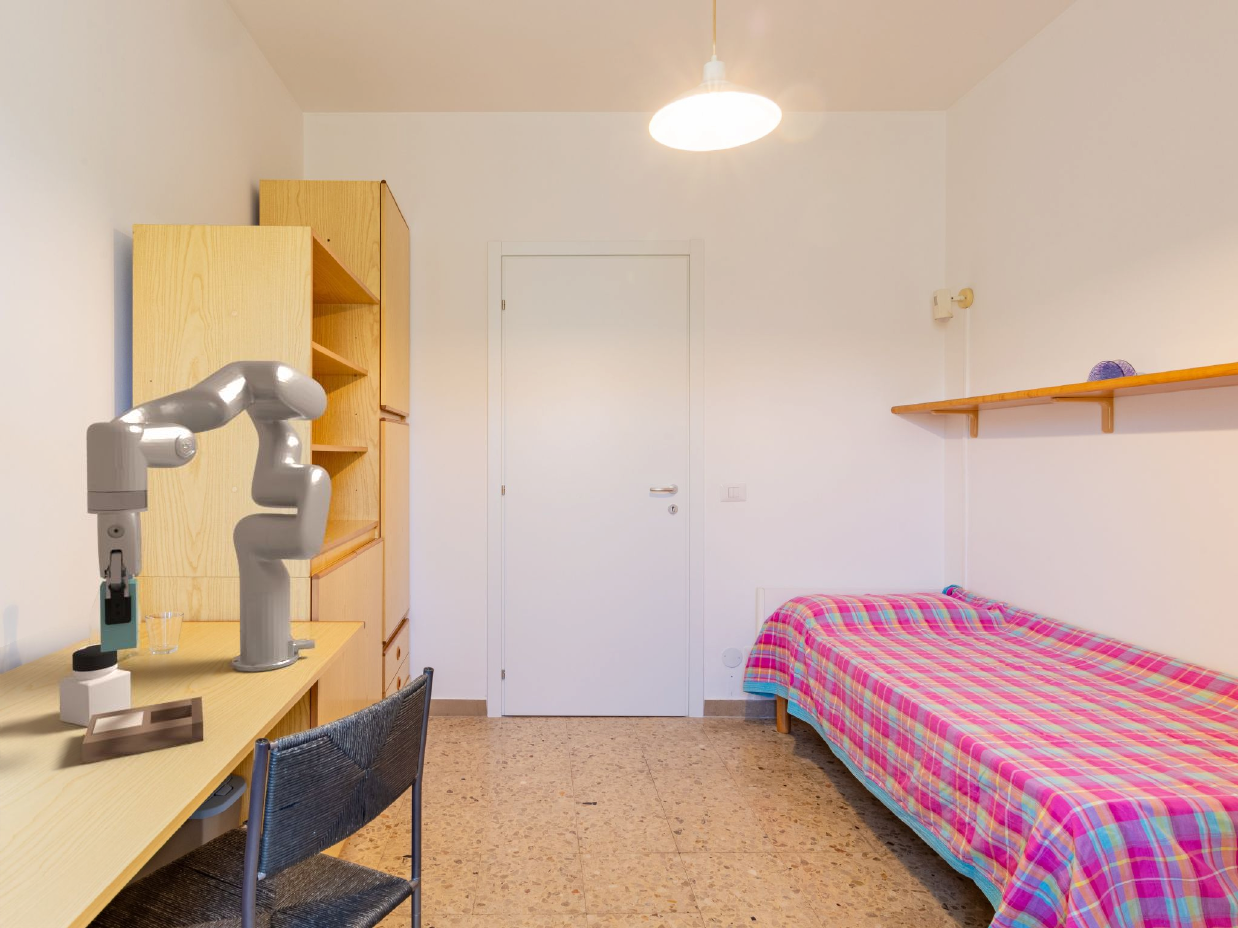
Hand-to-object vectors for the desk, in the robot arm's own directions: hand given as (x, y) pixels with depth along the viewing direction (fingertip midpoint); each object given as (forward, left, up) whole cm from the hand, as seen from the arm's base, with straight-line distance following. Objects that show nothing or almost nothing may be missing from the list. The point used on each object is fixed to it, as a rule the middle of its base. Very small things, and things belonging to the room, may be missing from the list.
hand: (119, 618), depth 105 cm
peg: (0, 0, -4) cm, 4 cm away
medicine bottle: (+4, -14, -20) cm, 25 cm away
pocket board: (-3, 0, -20) cm, 20 cm away
